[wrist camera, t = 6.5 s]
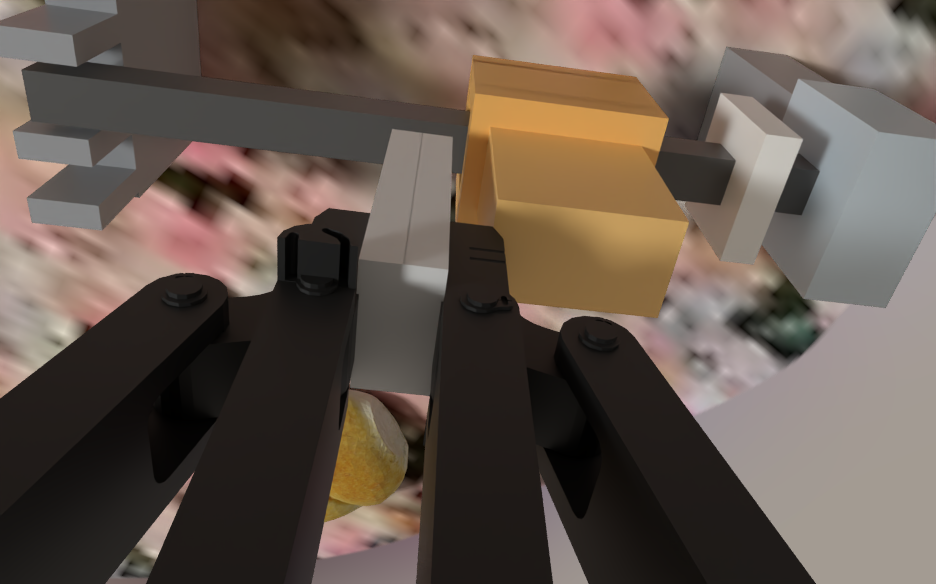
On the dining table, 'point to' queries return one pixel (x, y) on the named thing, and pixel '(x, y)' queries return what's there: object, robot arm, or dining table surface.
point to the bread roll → (366, 457)
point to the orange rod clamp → (571, 185)
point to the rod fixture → (371, 122)
